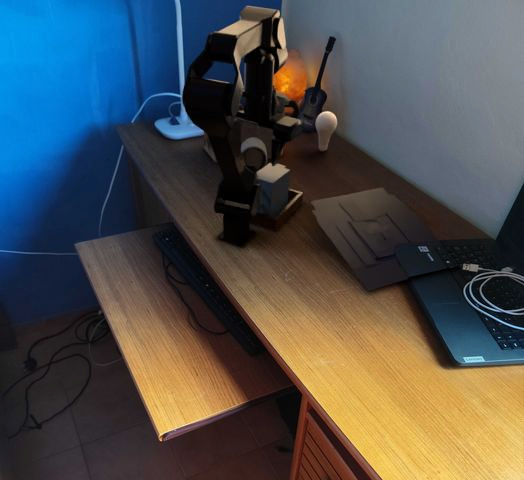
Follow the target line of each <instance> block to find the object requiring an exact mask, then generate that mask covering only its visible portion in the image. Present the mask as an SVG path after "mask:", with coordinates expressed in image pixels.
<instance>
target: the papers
mask: <svg viewBox="0 0 524 480" xmlns="http://www.w3.org/2000/svg"><path fill="white" fill-rule="evenodd" d="M309 202H310V204H311V205H312V207H313V208H314V209H312V210H311V212H312V213H313V215H314V216H315V218H316V222H317V223H318V224H319V226H320V227H321V229H322V230H323V231H324V233H325V235H327V237H328V238H329V239H330V241H331V242H332V244H333V246H335V248H336V249H337V250H338V252H339V254H341V256H342V257H343V259H344V260H345V261H346V263H347V264H348V266H349V267H350V270H351V271H352V272H353V273H354V275H355V276H356V277H357V279H358V280H359V281H360V282H361V283H362V285H363V286H364V288H366V290H367V291H368V292H370V291H374V290H376V289H379V288H383V287H386V286H389V285H392V284H395V283H400V282H402V281H405V280H408V277H407V275H406V274H405V272H404V271H403V269H402V267H399V265H398V262H397V260H396V258H395V254H394V251H393V250H394V247H395V245H396V244H398V243H408V242H410V243H411V242H425V241H440V240H439V238H438V237H437V236H436V235H435V234H434V233H433V232H432V230H431V229H430V228H428V226H427V225H426V224H425V223H424V222H423V221H422V220H421V219H420V217H418V216H417V214H416V213H415V212H414V211H413V210H412V209H410V208H409V207H408V206H407V204H406V203H405V202H403V201H401V200H400V199H399V198H398V197H397V196H396V195H395V194H394V193H393V194H389V193H388V192H387V190H386V189H385V188H384V187H377V188H373V189H372V188H371V189H368V190H362V191H358V192H353V193H348V194H342V195H336V196H331V197H326V198H325V197H324V198H319V199H314V200H309Z"/></svg>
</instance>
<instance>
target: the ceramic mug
mask: <svg viewBox="0 0 524 480" xmlns="http://www.w3.org/2000/svg"><path fill="white" fill-rule="evenodd" d="M241 152H242V155H243V159H244V162H245V164H248V165H253V166H255V167H256V169H257V172H258V171H259V170H261V169H262V168H263V167H265V166H266V165H268V159H267V151H266V147H265V145H264V143H263V142H262V141H261V140H260V139H258V138H255V137H249V138H246V139H245V140H243V142H241Z"/></svg>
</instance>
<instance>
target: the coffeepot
mask: <svg viewBox="0 0 524 480" xmlns="http://www.w3.org/2000/svg"><path fill="white" fill-rule="evenodd" d="M273 88H275V85H274V84H273ZM276 95H277V96H281V97H285V103H284V108H283V112H282V113H279V112H277V115H275V116H271V119H275V120H278V121H279V120H280V119H282V118H283V117H285V111H286V108H292V110H293V111H292V112H291V113H292V114H291V118H295V119H298V117H299V115H300V113H301V107H300V106H299V104H298V102H297V100H294V99H291V98H288V95H286V94H284V93H282V92H280V91H276ZM256 126H257V127H256V132H255V137H254V138H258V139H260V140H261V141H262V142H263V143H264V145H265V147H266V151H267V160H271V139H272V138H274V135H273V130H272V129H269V128H265V127H262V126H258V125H256ZM283 152H284V148H283V149H282V151H281V154H280V156H279V158H280V157H282V156H283Z"/></svg>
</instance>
